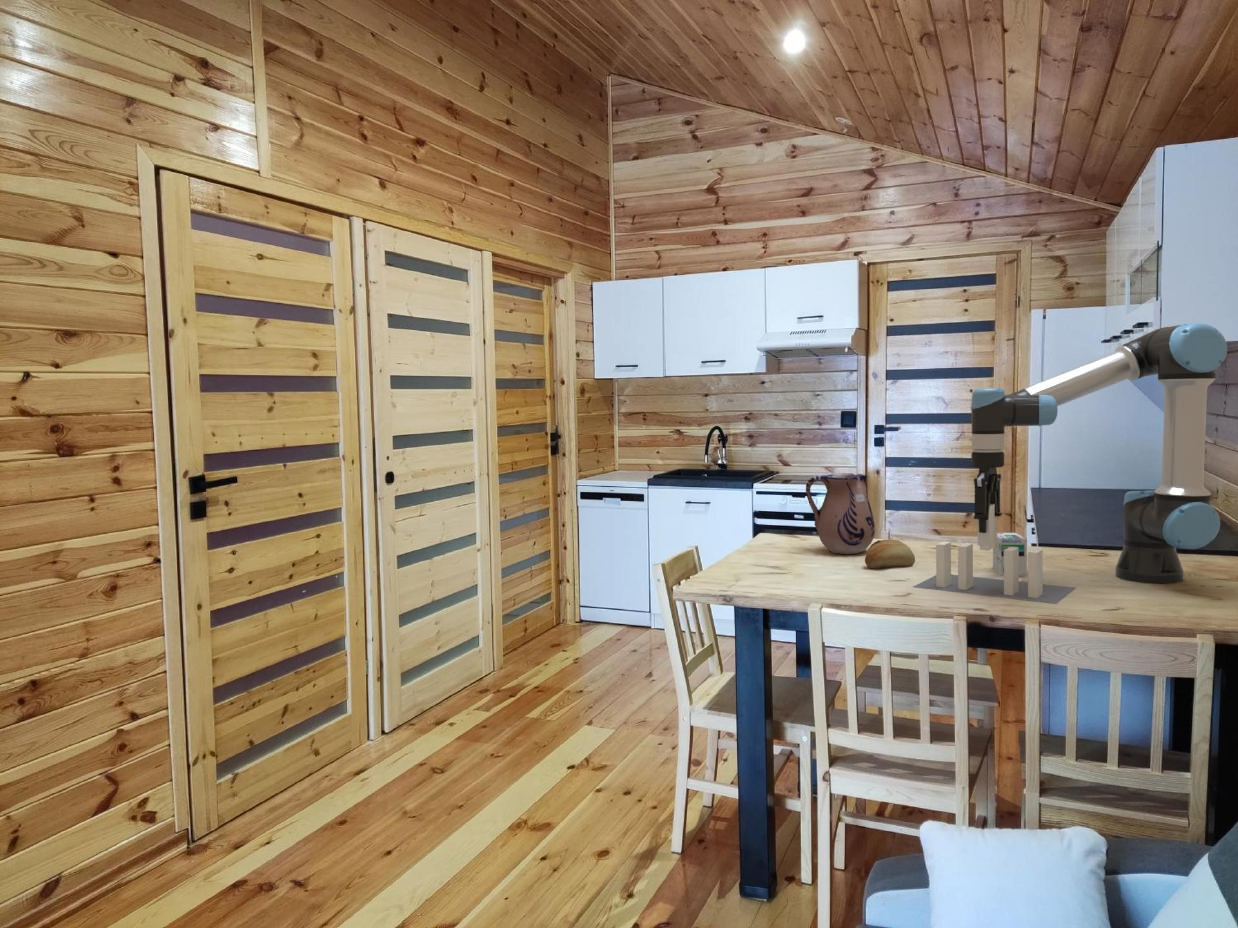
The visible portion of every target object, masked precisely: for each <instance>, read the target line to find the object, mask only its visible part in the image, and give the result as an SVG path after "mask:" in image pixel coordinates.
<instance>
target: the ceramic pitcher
mask: <svg viewBox="0 0 1238 928" xmlns="http://www.w3.org/2000/svg"><path fill="white" fill-rule="evenodd" d="M867 477H868V475H867V474H863V473H858V474H854V473H852V472H850V473H849V472H848V473H846V472H843V473H835V474H834V473H832V474H831V473H830V474H826V475H824V474H823V475H814V476H812V477H810V478H809V479H808V480H807V482H806V484H805V494H806V498H807V500H808V503H809V506H810V508H811V510H812V512H813V515H814V527H815V529H816V530H817V533H818V538H819V539H820V542H821V544H822V545H823V546H824V547H825V548H826V550H828V551H829V552H831V553H834V554H838V553H839V554H838V555H855V554H860V553H863V552H864V551H866V550H868V547H870V546H871V545H872V542H873V540H874V537H875V532H876V531H875V530H876V526H875V525H876V524H875V520H874V515H873V511H872V507H871V505H870V500H869V497H868V492H867V480H868V479H867ZM816 482H822V483H823V484H824V486H825V488H826V493H825V496H824V499H823V502H822V504H821V507H820V508H819V509H818V507H817V505H816V504H815V502H814V499H813V496H812V494H811V493H812V492H811V488H812V485H813V484H814V483H816Z"/></svg>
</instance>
